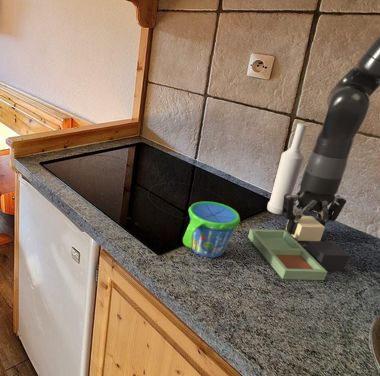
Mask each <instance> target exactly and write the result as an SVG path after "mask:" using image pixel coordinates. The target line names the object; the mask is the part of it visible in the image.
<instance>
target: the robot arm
mask: <svg viewBox="0 0 380 376" xmlns="http://www.w3.org/2000/svg"><path fill="white" fill-rule="evenodd" d="M379 87H380V34H379V35H378V36H377V38H376V39H375V40H374V41H373V42H372V44H371V45H370V46H369V47H368V49H367V50H366V51H365V52H364V54H362V56H361V57H360V59H359V60H358V62H357V63H356V64H355V65H354V66H353V67H352V68H351V69H349V71H348V72H347V73H346V74H344V76H343V77H342V78H341V79H340V80H339V81H338V82H337V83H336V85H334V87H333V88H332V89H331V91H330V92H329V93H328V96H327V99H326V100H327V101H326V104H327V110H326V114H325V117H324V120H323V124H322V127H321V128H320V129H319V130H318V133H317V135H316V137H315V141H314V144H313V147H312V150H311V153H310V155H309V157H308V159H307V162H306V164H305V168H304V171H303V175H302V178H301V180H300V188H299V191H298V192H297V193H296V194H292V195H289V194H285V195H284V200H283V210H282V216H283V217H285V218H286V220H287V223H288V224H287V223H286V226H287V227H285V230H286V231H287V232H288V233H289V234H290V235H291V236H292V235H294V234H295V231H296V228H297V225H298V223H299V222H298V221H299V220H300V219H301V217H302V216H307V214H308V213H309V212H316V217H317V218H315V219H316V220H317V221H318V222H319V223H320V224H322V225H323V226H324V227H325V226H326V224H327V223H328V222H335V221H336V220H337V219H338V218H339V216H340V213H341V212H342V210H343V208H344V206H345V205H346V203H347V200H346V199H345V198H344V197H343V196H342V195H341V196H340V195H339V194H338V195H337V193H338V191H339V188H340V186H341V182H342V180H343V177H344V175H345V171H346V169H347V165H348V159H349V157H350V153H351V151H352V148H353V145H354V141H355V139H356V137H357V134H358V132H359V131H360V129H361V127H362V125H363V124H364V120H365V118H366V116H367V114H368V111H369V109H370V105H371V100H370V97H371V96H372V95H373V94H374V93H375V92H376V91H377V90H378V88H379ZM328 206H329V207H328ZM288 220H289V221H288Z"/></svg>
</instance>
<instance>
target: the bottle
mask: <svg viewBox="0 0 380 376" xmlns="http://www.w3.org/2000/svg"><path fill="white" fill-rule="evenodd" d="M307 126H308V124H307V123H304V122H298V123H297V124H296V127H295V133H294V136H293V138H292V142H291V146H290V147H289V148H288V149H287V150H285V151H283V152H282V153H281V155H280V160H279V163H278V168H277V171H276V175H275V180H274V183H273V188H272V191H271V195H270V199H269V201H268V202H267V206H266V209H267V211H268V212H270V213H271V214H275V215H279V216H281V215H282V216H283V214H282V210H283V200H284V195H285V194H289V195H293V192H294V189H295V186H296V183H297V180H298V178H299V174H300V171H301V168H302V165H303V162H304V160H305V156H304V155H303V154H302V152H301V149H300V148H301V145H302V141H303V138H304V135H305V132H306V129H307Z"/></svg>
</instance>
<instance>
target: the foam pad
mask: <svg viewBox="0 0 380 376" xmlns="http://www.w3.org/2000/svg"><path fill="white" fill-rule="evenodd" d="M316 219H317V218H315V217H314V216H312V215H305V216H302V217H301V219H300V220H299V221H298V222H299V223H298V225H297V228H296V231H295V234H294V235H291V236H292V237H293V238H294V239H295V240H296V241H297V242H309V241H322V237H323V235H324V231H325V229H326V227H325V226H323V225H322V224H320V223H319V222H318V221H317V220H316ZM288 221H289V220H288V219H287V223H286V227H287V224H288ZM286 227H285V228H286Z"/></svg>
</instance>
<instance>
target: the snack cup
mask: <svg viewBox="0 0 380 376" xmlns="http://www.w3.org/2000/svg"><path fill="white" fill-rule="evenodd" d="M188 216H189V219H190V220H189V224H188V226H187V228H186V230H185V233H184V235H183V237H182V243H183V245H184V246H185V247H188V248H190V249H191V250H192V251H193V252H194V253H195V254H196V255H200V256H202V257H206V258H212V259H215V258H217V257H220V256H222V255H223V254H224V252H225V251H226V248H227V246H228V244H229V242H230V239H231V237H232V236H233V233H234V231H235V228H236V227H237V226H238V225H239V224H240V221H241V218H240V214H239V212H237V210H236V209H234V208H232V207H230V206H229V205H226V204H223V203H220V202H215V201H198V202H194V203H192V204H191V206H189V208H188Z"/></svg>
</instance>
